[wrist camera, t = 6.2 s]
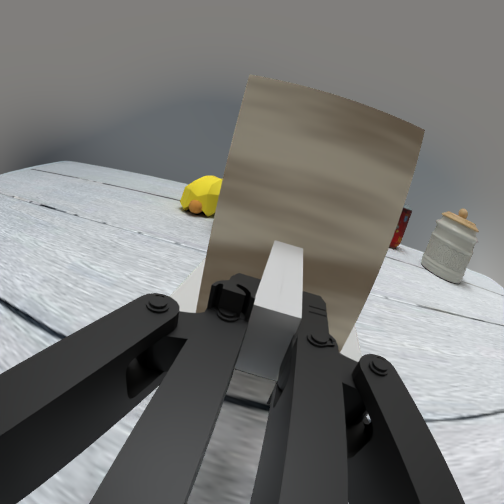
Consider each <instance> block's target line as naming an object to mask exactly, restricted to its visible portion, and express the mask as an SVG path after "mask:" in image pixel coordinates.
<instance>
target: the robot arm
mask: <svg viewBox="0 0 504 504" xmlns="http://www.w3.org/2000/svg"><path fill="white" fill-rule="evenodd" d="M179 308H180V306H179V305H178V303H177V301H175V300H174V299H173V298H171V297H169V296H166V295H163V294H157V293H154V294H146V295H143V296H141V297H139V298H137V299H135V300H133V301H132V302H130V303H128V304H126V305H124V306H122V307H121V308H119V309H117V310H115V311H113V312H111V313H110V314H108V315H106V316H104V317H102V318H100V319H99V320H97V321H95V322H93V323H91V324H89V325H88V326H86V327H84V328H82V329H80V330H78V331H77V332H75V333H73V334H71V335H69V336H68V337H66V338H64V339H62V340H60V341H59V342H57V343H55V344H53V345H51V346H50V347H48V348H46V349H44V350H42V351H41V352H39V353H37V354H35V355H34V356H32V357H30V358H28V359H26V360H25V361H23V362H21V363H19V364H18V365H16V366H14V367H12V368H11V369H9V370H7V371H5V372H4V373H2V374H0V504H16V503H18V502H19V501H21V500H22V499H23V498H25V497H26V496H27V495H29V494H30V493H31V492H32V491H34V490H35V489H36V488H38V487H39V486H40V485H42V484H43V483H44V482H45V481H47V480H48V479H49V478H51V477H52V476H53V475H54V474H56V473H57V472H58V471H59V470H61V469H62V468H63V467H64V466H66V465H67V464H68V463H69V462H71V461H72V460H73V459H74V458H75V457H77V456H78V455H79V454H80V453H82V452H83V451H84V450H85V449H86V448H88V447H89V446H90V445H91V444H92V443H94V442H95V441H96V440H97V439H98V438H100V437H101V436H102V435H103V434H104V433H105V432H107V431H108V430H109V429H110V428H111V427H112V426H114V425H115V424H116V423H117V422H118V421H119V420H121V419H122V418H123V417H124V416H125V415H126V414H127V413H129V412H130V411H131V410H132V409H133V408H134V407H135V406H137V405H138V404H139V403H140V402H141V401H142V400H143V399H144V398H146V397H147V396H148V395H149V394H150V393H151V392H152V391H153V390H155V389H156V388H157V387H158V386H159V387H158V389H157V390H156V392H155V394H154V395H153V397H152V399H151V400H150V402H149V404H148V405H147V407H146V409H145V410H144V412H143V414H142V415H141V417H140V419H139V420H138V422H137V424H136V425H135V427H134V429H133V430H132V432H131V434H130V435H129V437H128V439H127V440H126V442H125V444H124V445H123V447H122V449H121V451H120V452H119V454H118V456H117V457H116V459H115V461H114V462H113V464H112V466H111V467H110V469H109V471H108V473H107V474H106V476H105V478H104V479H103V481H102V483H101V484H100V486H99V488H98V490H97V491H96V493H95V495H94V496H93V498H92V500H91V502H90V503H89V504H187V501H188V498H189V496H190V493H191V490H192V488H193V485H194V482H195V480H196V477H197V474H198V471H199V469H200V466H201V463H202V460H203V458H204V455H205V452H206V449H207V447H208V444H209V441H210V438H211V435H212V432H213V430H214V427H215V424H216V421H217V418H218V415H219V413H220V410H221V407H222V404H223V401H224V398H225V395H226V392H227V389H228V386H229V384H230V381H231V378H232V374H233V371H234V368H235V369H239V370H242V371H245V372H249V373H252V374H255V375H259V376H262V377H266V378H270V379H274V380H275V379H276V377H277V375H278V373H279V375H278V381H277V383H276V385H275V387H274V389H273V391H272V394H271V396H270V398H269V400H268V402H267V404H270V403H271V404H270V410H269V415H268V421H267V426H266V431H265V436H264V441H263V446H262V451H261V456H260V461H259V466H258V470H257V475H256V480H255V484H254V489H253V493H252V497H251V502H250V504H348V502H349V504H465V503H464V500H463V498H462V496H461V493H460V491H459V489H458V487H457V485H456V482H455V480H454V478H453V476H452V474H451V472H450V470H449V468H448V466H447V463H446V461H445V459H444V457H443V455H442V453H441V451H440V449H439V447H438V445H437V443H436V442H435V440H434V438H433V436H432V434H431V432H430V430H429V428H428V426H427V424H426V423H425V421H424V419H423V417H422V415H421V413H420V412H419V410H418V408H417V406H416V404H415V403H414V401H413V399H412V397H411V395H410V394H409V392H408V390H407V388H406V387H405V385H404V383H403V382H402V380H401V378H400V376H399V375H398V373H397V371H396V370H395V368H394V367H393V365H392V364H391V363H390V362H389V361H387V360H386V359H385V358H383V357H381V356H378V355H373V354H367V355H364V356H362V357H361V358H360V360H359V362H357V361H355V360H353V359H350V358H348V357H346V356H344V355H343V354H341V353H340V352H339V350H338V344H337V342H336V340H335V339H334V338H333V337H332V336H331V335H330V334H329V328H328V318H327V312H326V311H327V309H326V303H325V302H324V300H323V299H322V297H321V296H319V295H315V294H312V293H308V292H305V291H303V248H300V247H296V246H293V245H290V244H286V243H283V242H280V241H276V240H275V241H274V244H273V247H272V250H271V253H270V256H269V258H268V261H267V264H266V267H265V270H264V273H263V276H262V279H258V278H254V277H251V276H248V275H244V274H241V273H237V274H235V275H233V276H231V278H230V279H229V280H220V281H216V282H215V283H213V284H212V285H211V290H210V295H209V300H208V305H207V309H206V310H205V312H201V313H189V312H182V311H179ZM368 414H369V416H370V419H371V423H369V422H368V420H367V417H366V416H367V415H368Z"/></svg>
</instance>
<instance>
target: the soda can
mask: <svg viewBox="0 0 504 504" xmlns="http://www.w3.org/2000/svg"><path fill="white" fill-rule="evenodd" d="M411 213H412V210H411V208H410V206H408V205H406V204H404V206H403V209H402V212H401V215H400V218H399V221H398V224H397V227H396V229H395V232H394V235H393V238H392V240H391V243H390V245H389V248H393V249H395V248H396V247H397V246H398V245H399V244H400V242H401V240H402V237H403V235H404V232H405V229H406V227H407V224H408V221H409V218H410V216H411Z"/></svg>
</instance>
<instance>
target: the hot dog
mask: <svg viewBox="0 0 504 504" xmlns="http://www.w3.org/2000/svg"><path fill="white" fill-rule="evenodd" d="M222 180H223V179H219V178H217V177H215V176H204V177H202V178H200V179H197V180H195V181H194V182H192V183H191V184H189V185H187V186H186V187H185V189H184V192H183V195H182V198H181V200H180V202H181V205H182V207H183V209H184V210H185V211H186V210H188V209H189V210H190V211H191V212H192V213H196V214H197V213H200V212H202V211H203V212H204V213H205V214H206V216H207V217H209V216H211V215H212V214H214V213H215V211H216V207H217V202H218V198H219V193H220V189H221V185H222Z"/></svg>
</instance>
